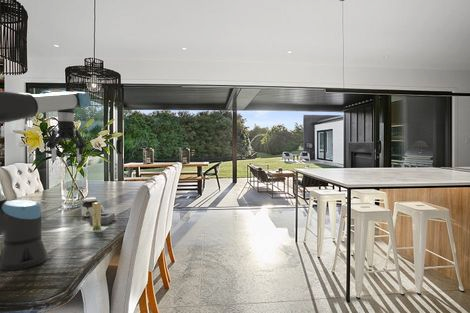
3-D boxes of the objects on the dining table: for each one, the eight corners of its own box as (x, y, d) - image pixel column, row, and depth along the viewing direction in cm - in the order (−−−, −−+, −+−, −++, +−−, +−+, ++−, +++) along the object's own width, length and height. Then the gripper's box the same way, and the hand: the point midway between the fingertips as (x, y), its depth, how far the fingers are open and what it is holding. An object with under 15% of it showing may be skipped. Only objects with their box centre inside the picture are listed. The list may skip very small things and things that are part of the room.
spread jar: (79, 217, 175) (79, 198, 175) (92, 213, 186) (92, 195, 186) (95, 218, 173) (95, 200, 172) (108, 214, 184) (108, 196, 183)
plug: (98, 230, 149) (98, 203, 148) (91, 229, 149) (90, 203, 148) (102, 227, 153) (102, 202, 152) (94, 227, 153) (94, 202, 152)
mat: (101, 232, 146) (101, 231, 146) (84, 231, 146) (84, 231, 146) (109, 227, 155) (109, 226, 155) (92, 226, 155) (92, 226, 155)
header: (107, 224, 161) (107, 217, 160) (89, 224, 161) (89, 217, 160) (114, 219, 171) (114, 213, 170) (98, 219, 171) (98, 213, 170)
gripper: (92, 121, 154) (93, 160, 155) (47, 121, 154) (48, 160, 155) (85, 120, 147) (86, 161, 148) (37, 120, 147) (38, 160, 148)
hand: (66, 160), depth 151 cm, fingers open, 13 cm apart
